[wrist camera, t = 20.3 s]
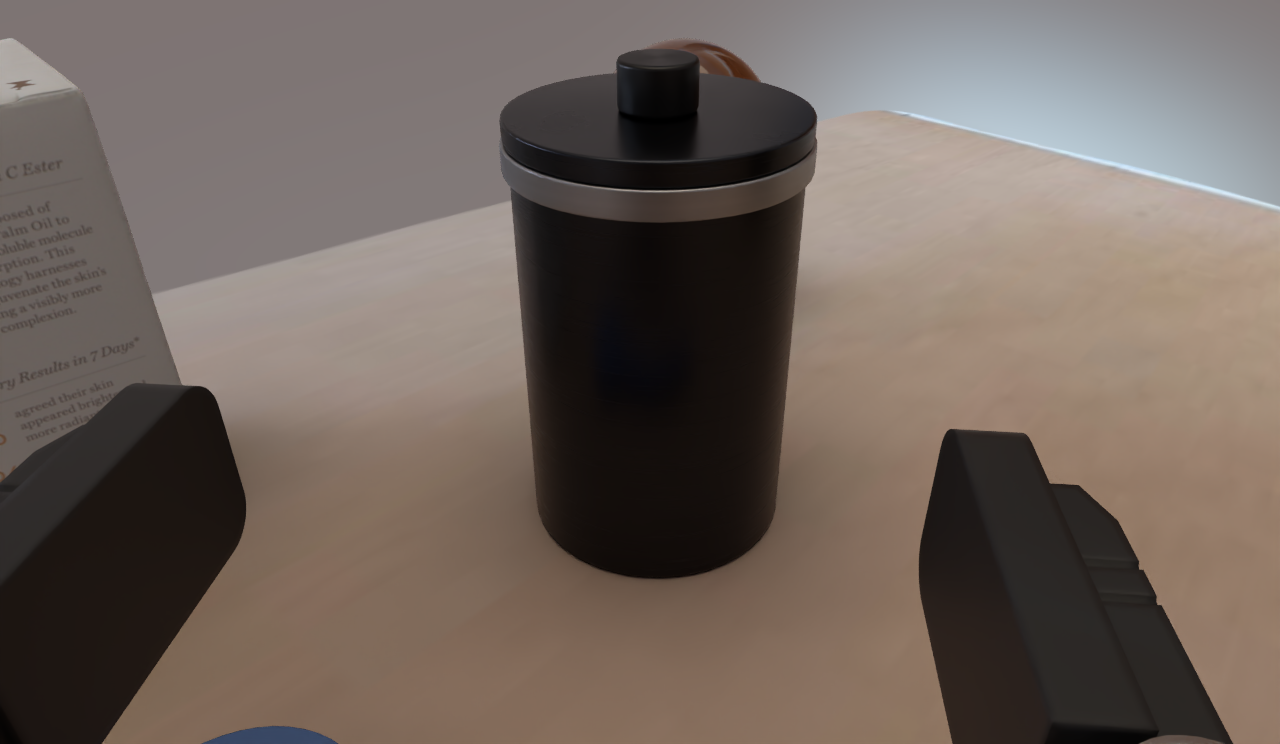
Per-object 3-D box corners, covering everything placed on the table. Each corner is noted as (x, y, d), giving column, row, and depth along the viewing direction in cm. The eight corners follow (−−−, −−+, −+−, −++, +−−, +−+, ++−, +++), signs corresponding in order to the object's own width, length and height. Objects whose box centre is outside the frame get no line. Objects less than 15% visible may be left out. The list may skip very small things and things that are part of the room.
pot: (505, 572, 21) (451, 97, 15) (556, 416, 26) (530, 21, 20) (785, 593, 20) (837, 106, 14) (779, 428, 25) (815, 26, 20)
